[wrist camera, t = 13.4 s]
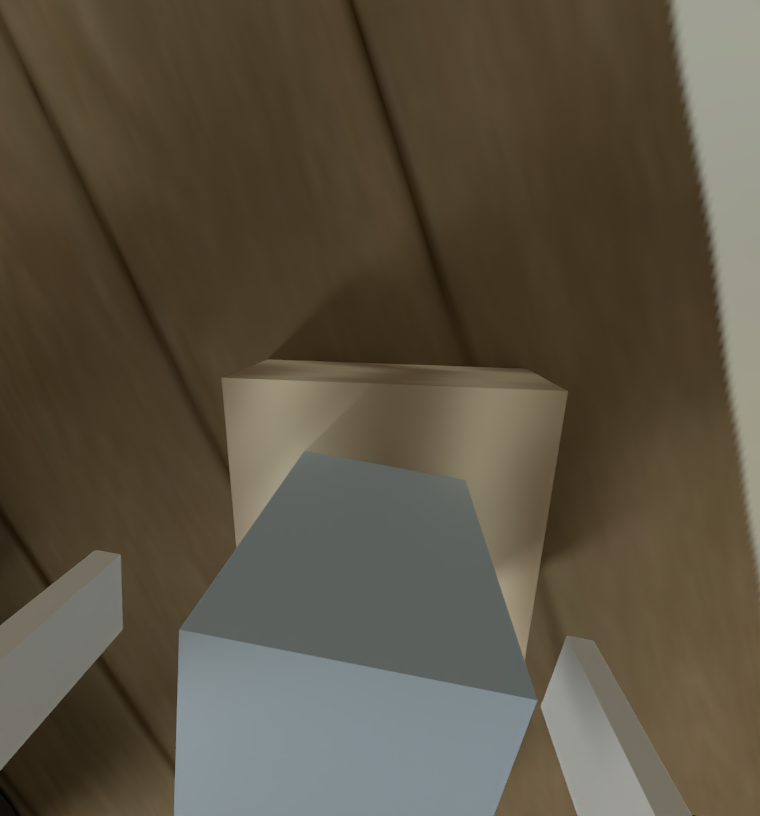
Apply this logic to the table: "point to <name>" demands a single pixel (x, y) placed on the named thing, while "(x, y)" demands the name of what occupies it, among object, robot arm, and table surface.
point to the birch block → (409, 443)
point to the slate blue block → (352, 656)
